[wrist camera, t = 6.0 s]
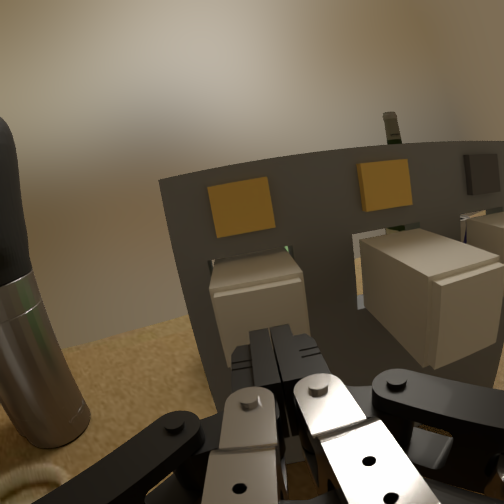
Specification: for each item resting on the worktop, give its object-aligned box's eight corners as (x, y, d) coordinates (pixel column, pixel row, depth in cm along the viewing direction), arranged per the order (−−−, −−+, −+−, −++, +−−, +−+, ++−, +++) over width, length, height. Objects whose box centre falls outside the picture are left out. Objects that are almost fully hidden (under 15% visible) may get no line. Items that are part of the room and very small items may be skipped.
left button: (227, 374, 14) (207, 293, 13) (228, 309, 21) (216, 251, 20) (315, 358, 14) (305, 275, 13) (288, 298, 21) (279, 240, 20)
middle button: (429, 375, 11) (437, 281, 10) (363, 306, 18) (359, 239, 17) (497, 344, 11) (508, 259, 10) (420, 291, 18) (418, 228, 17)
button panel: (238, 476, 20) (155, 180, 15) (237, 454, 23) (166, 179, 18) (495, 393, 21) (515, 141, 16) (480, 380, 23) (492, 142, 18)
